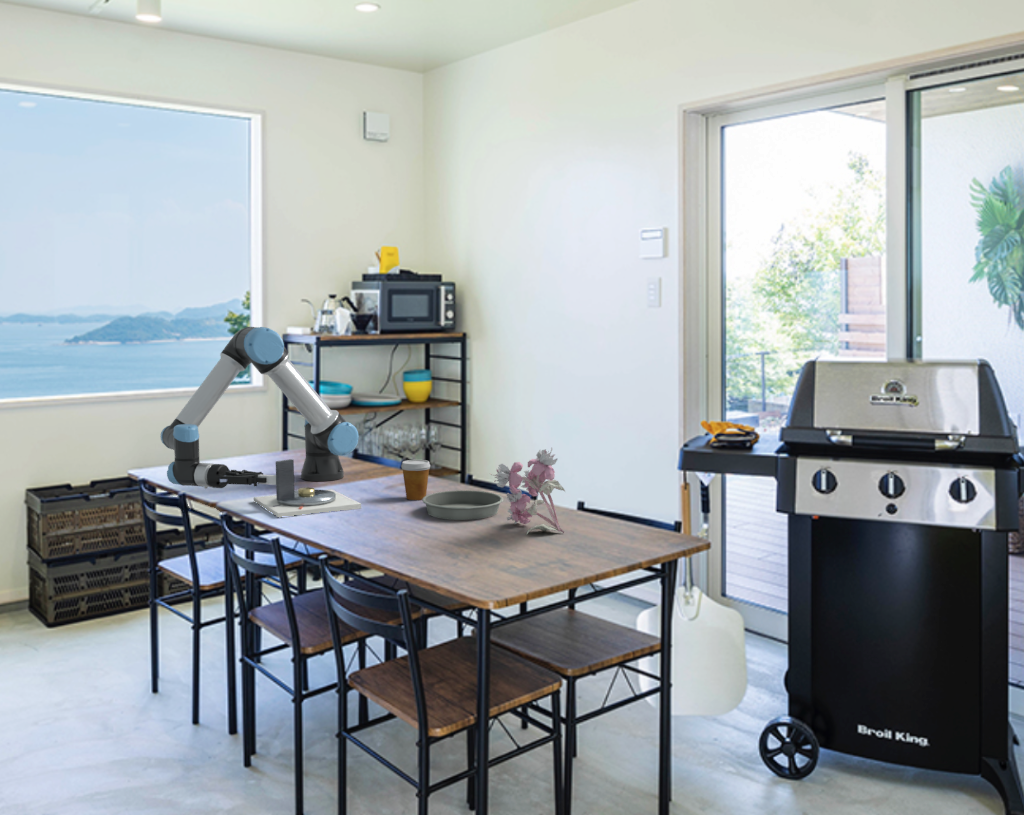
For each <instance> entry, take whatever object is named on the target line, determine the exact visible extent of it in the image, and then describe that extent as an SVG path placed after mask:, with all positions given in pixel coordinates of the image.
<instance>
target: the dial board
mask: <svg viewBox="0 0 1024 815" xmlns="http://www.w3.org/2000/svg"><path fill="white" fill-rule="evenodd" d="M326 490H327V491H332V492H334V493H335V494H336V499H335V500H334V501H332V502H329V503H325V504H319V505H310V506H291V505H284V504H280V503H278V502H277V494H273V495H265V496H256V497H253V502H254V501H255V502H257V503H258V504H260V505H261V506H263V507H264V508H266V509H267V510H268V511H270V512H272V513H273V514H274V515H276V516H277V517H282V516H293V517H295V516H294V515H302V514H310V513H319V512H327V513H332V512H331V511H335V512H341V511H340V510H344V511H350V510H358V509H359V510H360V509H362V503H361V502H358V501H357V500H355V499H353V498H350V497H348V496H346V495H344V494H342V493H340V492H339V491H336V490H335V489H326ZM255 502H254V503H255ZM258 504H257V505H258ZM261 506H260V507H261ZM264 508H263V509H264ZM267 510H266V511H267ZM268 511H267V512H268ZM329 511H330V512H329ZM270 512H269V513H270ZM273 514H272V515H273ZM319 514H320V513H319ZM274 515H273V516H274ZM310 515H311V514H310ZM276 516H275V517H276ZM302 516H303V515H302ZM277 517H276V518H277Z"/></svg>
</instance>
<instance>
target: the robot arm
mask: <svg viewBox="0 0 1024 815" xmlns="http://www.w3.org/2000/svg"><path fill="white" fill-rule="evenodd" d="M284 343H285V342H284V340H283V338H282V337H281V335H280V334H279V333H278V332H277V331H275V330H273V329H272V328H268V327H264V326H260V327H259V326H258V327H257V326H246V327H243V328H241V329H239V330H238V331H237V332H236V333H234V335H233V336H232V338H231V339H230V340H229V342H228V343H226V346H225V347H224V348H223V349H222V350H221V352H220V353H219V356H220V359H219V360H218V361H217V363H215V365H214V367H213V368H212V369H211V371H210V372H209V373H208V375H206V377H205V379H204V380H203V381H202V382H201V384H200V386H199V387H198V388H197V389H196V391H195V392H194V393H193V395H192V396H191V397H190V398H189V400H188V402H187V403H186V404H185V405H184V407H183V408H182V409H181V411H180V412H179V413H178V414H177V416H176V417H175V418H174V420H173V421H172V422H171V424H170V425H167V426H166V427H164V428H163V429H162V430H161V433H160V441H161V443H162V444H163V445H164V447H166V448H167V449H170V450H174V453H173V454H174V461H172V462H170V464H169V465H168V468H167V471H166V477H167V480H168V481H169V482H170V483H171V484H173V485H178V486H179V485H180V486H185V487H186V486H188V487H190V486H191V487H203V488H204V489H205V490H206V489H208V488H213V489H224V488H226V487H227V486H228V485H245V486H248V485H249V486H251V485H253V486H254V487H257V486H258V485H270V486H276V474H275V475H272V474H264V473H263V472H262V471H259V472H258V471H250V470H246V469H243V470H237V469H230V468H229V467H228V466H227V465H226V464H223V463H221V464H220V463H213V462H212V463H211V462H200V433H199V427H200V425H201V424H202V423H203V421H204V420H205V419H206V417H207V416H208V415H209V413H210V412H211V410H212V409H214V407H215V405H216V404H217V403H218V401H219V400H220V399H221V397H222V395H223V394H224V393H225V392H226V391H227V389H228V388H229V386H230V385H231V384H232V382H233V381H234V380H235V378H236V377H237V376H238V375H239V373H241V372H245V370H246V369H247V368H248V367H249V365H250V364H252V365H253V366H254V367H255V369H256V370H257V371H258V372H259V373H260V374H261V375H267V376H268V377H269V378H270V379H271V380H272V381H273V382H274V385H276V386H277V387H278V389H279V390H280V391H281V392H282V393H283V395H284V396H285V397H286V398H287V399H288V400H289V401H290V403H292V405H293V406H294V407H295V408H296V410H297V411H298V412H299V413H300V414H301V415H302V417H303V418H304V440H305V441H304V442H305V443H304V445H305V446H304V447H305V458H304V462H303V465H302V469H301V473H300V478H301V479H302V480H303V481H308V482H309V481H310V482H327V481H335V480H340V479H343V478H344V469H343V468H344V467H343V465H342V462H341V460H340V456H345V455H346V456H347V455H348V454H350V453H352V452H353V451H354V450H355V449H356V448H357V445H358V443H359V438H360V437H359V432H358V428H357V427H356V426H355V425H353V424H352V423H351V422H349V421H347V420H346V419H345V418H344V417H343V415H342V414H340V412H339V411H338V410H336V409H331V408H330V407H329V405H328V404H327V403H326V402H325V401H324V400H323V399H322V397H321V396H320V395H319V394H318V393H317V391H316V390H315V389H314V388H313V386H312V385H311V384H310V382H308V381H307V380H306V378H305V377H304V376H303V374H302V373H301V372H300V371H299V370H298V369H297V367H296V366H295V364H293V363H292V361H291V360H290V359H289V355H290V354H289V350H288V349H287V348H286V347H285V344H284Z"/></svg>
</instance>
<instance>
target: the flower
mask: <svg viewBox="0 0 1024 815" xmlns="http://www.w3.org/2000/svg"><path fill="white" fill-rule="evenodd" d="M550 449H551V450H550V452H549V450H548V451H547V449H542V450H541V449H539V450H538V452H537V453H536V455H535V456H536V458H531V459H529V461H527V468H531V469H526V470H524V471H523V472H524V473H525V474H524V475H521V474H519V472H521V471H522V469H523V467H524V465H523V464H522V463H521V462H520V461H515V462H514V463H512V465H511V468H509V467H508V466H507V464H505V463H500V464H498V467H497V468H496V470H495V471H496V474H493V473H489V475H491V476H494V479H497V480H494V483H496V482H497V483H496V486H497V487H498V488H504V487H505V486H506V485H507V484H508V487H509V489H508V490H509V491H510V493H509V492H507V493H506V499H507V500H508V502H509V503H510V506H509V507H510V508H508V510H507V513H509V516H507V517H506V520H507V521H511V520H512V521H514V523H513V525H516V524H518V523H519V524H521V525H527V524H529V523H531V519H530V518H533V516H538V517H539V518H541V519H542V520H544V521H545V522H547V523H549V524H550V525H551V526H550V525H548V524H544V523H542V524H541V523H540V524H537V525H534V526H532V527H530V528H529V529H527V532H526V535H528V534H529V532H530V531H534V530H540V531H542V532H547V531H556V532H560V533H562V534H565V531H564V530H563V529H562V528H561V527H560V525H559V521H558V520H559V519H558V515H557V512H556V508H555V505H554V501H553V498H552V496H551V494H552V493H553V491H554V489H556V490H559V491H564V492H566V490H565V488H564V487H563V486H562V485H561V483H560V482H559V480H557V479H555V477H556V476H555V473H556V472H555V470H554V467H553V465H556V463H557V461H558V458H554V456H555V454H551V453H552V451H553V447H551V448H550ZM531 466H532V467H531ZM521 484H523V485H521ZM519 487H520V488H523V489H524V488H526V491H528V494H529V495H530V496H532V497H538V496H539V495H540V496H541V499H535V500H534V502H533V503H532V504H531V506H530V507H528V508H527V506H528V504H530V503H531V497H530V496H529V495H527V494H525V493H523V491H522V490H521V489H520V488H519ZM538 493H539V494H538ZM545 495H546V496H547V498H548V500H549V502H548V500H547V498H546V497H545ZM549 503H550V504H549ZM543 504H545V505H546V507H547V511H548V512H549V514H550V516H551V518H552V520H551V519H550V518H548V517H547V516H545V515H543V514H541V513H539V512H538V506H540V505H543ZM552 526H553V527H552Z"/></svg>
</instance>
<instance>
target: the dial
mask: <svg viewBox="0 0 1024 815" xmlns="http://www.w3.org/2000/svg"><path fill="white" fill-rule="evenodd" d="M275 475H276V485H275V487H276V488H275V489H276V490H275V491H276V494H275V495H277V502H278V503H280V504H284V505H291V506H310V505H319V504H325V503H329V502H332V501H334V500H335V499H336V494H335V493H334V492H332V491H327V490H328V489H315V487H311V486H310V487H309V486H307V487H306V486H305V487H299V488H298V489H295V464H294V459H293V458H290V459H282V460H277V461H276V460H275Z"/></svg>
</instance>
